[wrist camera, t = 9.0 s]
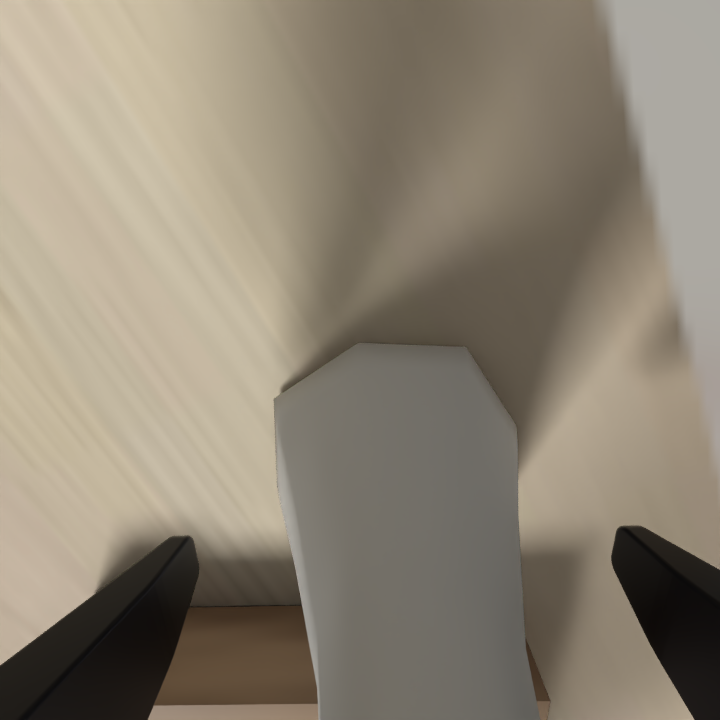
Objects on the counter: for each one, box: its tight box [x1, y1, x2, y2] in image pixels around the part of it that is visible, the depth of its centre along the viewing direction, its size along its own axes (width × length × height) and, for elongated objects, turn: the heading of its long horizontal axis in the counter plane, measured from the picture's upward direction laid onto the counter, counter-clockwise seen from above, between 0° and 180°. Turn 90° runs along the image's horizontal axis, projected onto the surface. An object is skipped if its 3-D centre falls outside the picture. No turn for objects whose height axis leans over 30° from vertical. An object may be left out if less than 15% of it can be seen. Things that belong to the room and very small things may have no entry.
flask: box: [274, 343, 540, 720], centre depth 7 cm, size 7×7×10 cm
